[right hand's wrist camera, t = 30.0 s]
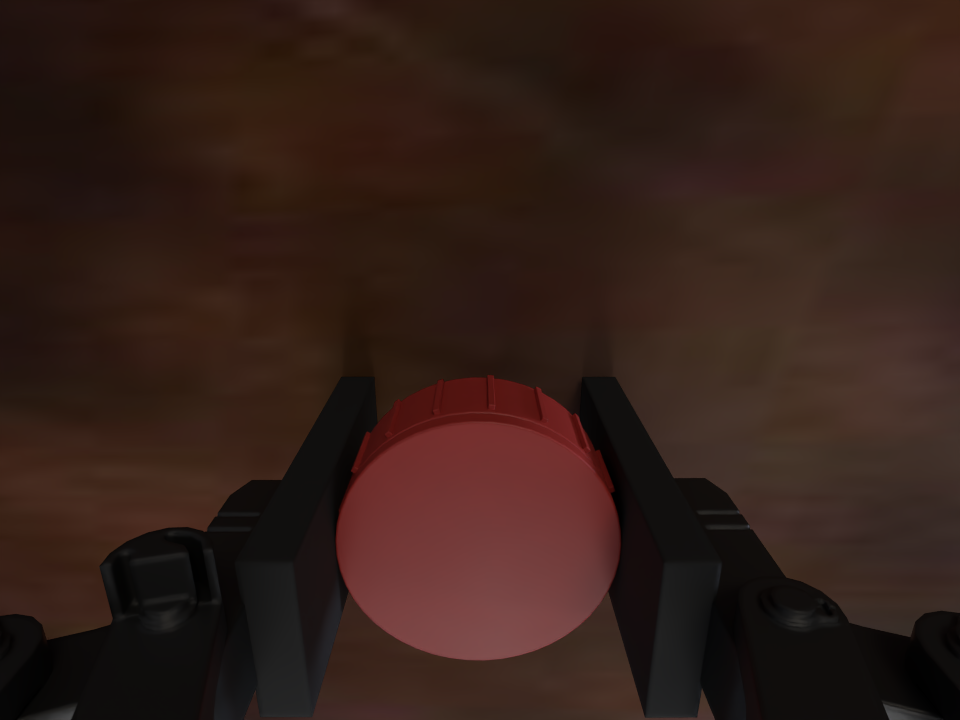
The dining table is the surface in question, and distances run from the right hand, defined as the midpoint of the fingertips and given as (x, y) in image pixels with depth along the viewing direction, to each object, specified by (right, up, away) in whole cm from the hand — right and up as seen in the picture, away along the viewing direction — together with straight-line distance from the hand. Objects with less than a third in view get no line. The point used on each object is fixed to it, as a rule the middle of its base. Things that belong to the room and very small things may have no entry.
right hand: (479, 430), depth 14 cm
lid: (0, -1, -4) cm, 4 cm away
